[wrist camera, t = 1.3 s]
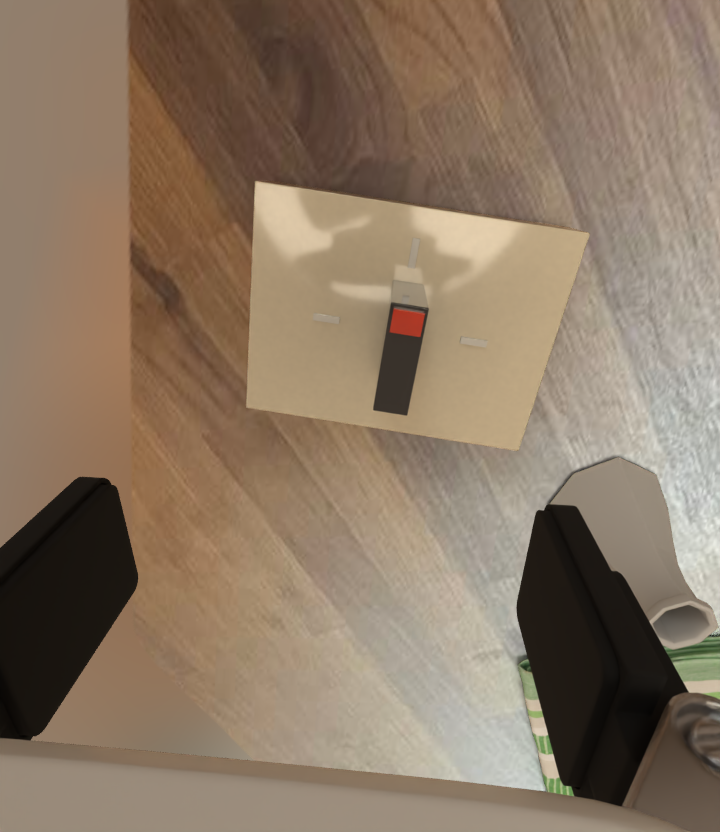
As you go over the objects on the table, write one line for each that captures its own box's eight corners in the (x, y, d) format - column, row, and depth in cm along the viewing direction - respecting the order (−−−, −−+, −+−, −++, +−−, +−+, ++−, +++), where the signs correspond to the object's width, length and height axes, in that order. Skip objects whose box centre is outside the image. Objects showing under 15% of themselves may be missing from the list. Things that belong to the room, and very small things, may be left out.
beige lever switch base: (259, 388, 31) (245, 409, 28) (270, 180, 26) (253, 180, 23) (508, 427, 31) (519, 453, 28) (570, 227, 26) (591, 233, 23)
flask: (592, 562, 35) (658, 694, 26) (527, 502, 33) (574, 622, 24) (685, 505, 32) (794, 630, 23) (620, 437, 31) (711, 544, 22)
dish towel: (758, 626, 36) (784, 658, 34) (744, 801, 46) (764, 836, 43) (515, 655, 40) (522, 686, 37) (548, 813, 49) (556, 846, 47)
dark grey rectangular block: (406, 376, 27) (407, 418, 22) (377, 371, 27) (372, 413, 22) (424, 284, 24) (429, 309, 20) (392, 279, 25) (390, 303, 20)
